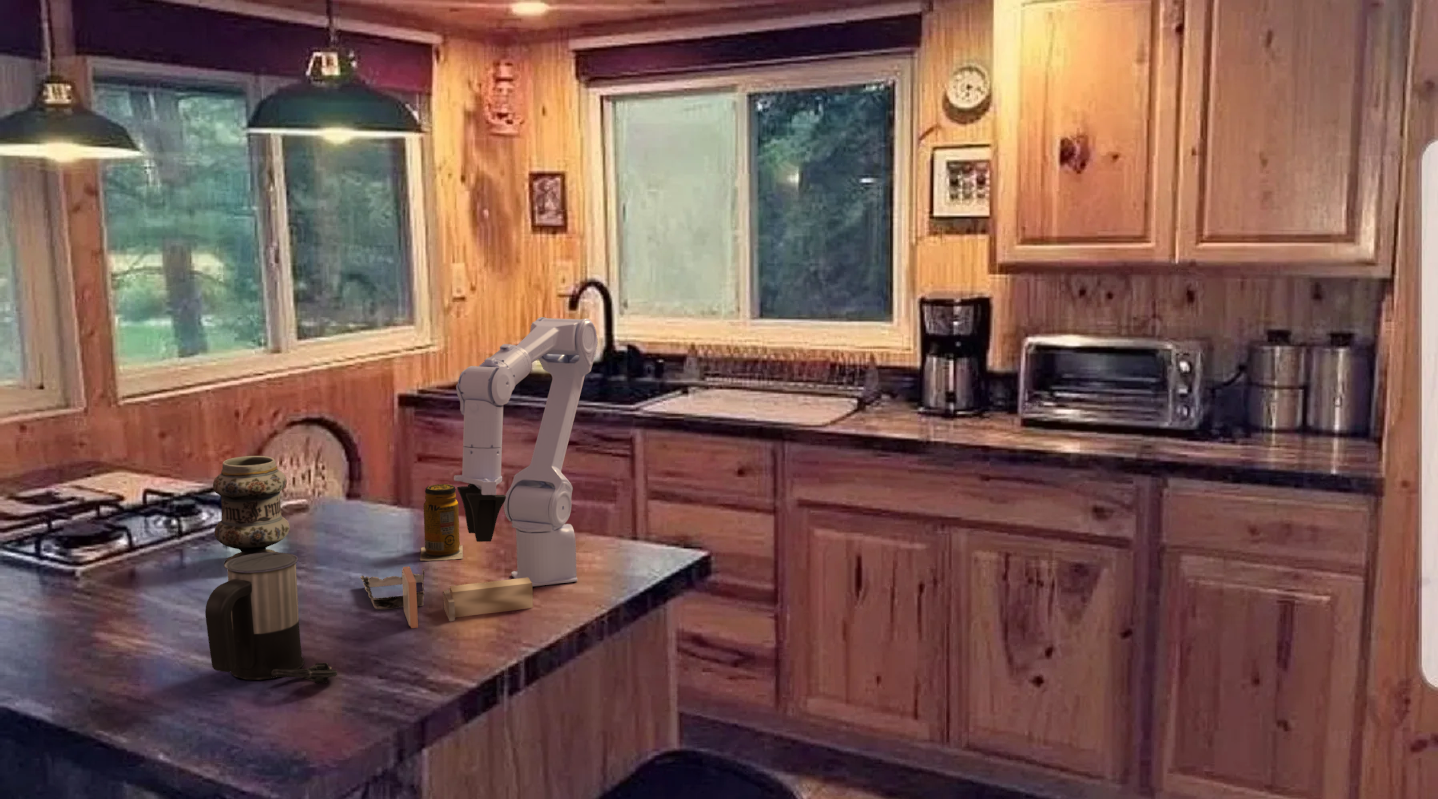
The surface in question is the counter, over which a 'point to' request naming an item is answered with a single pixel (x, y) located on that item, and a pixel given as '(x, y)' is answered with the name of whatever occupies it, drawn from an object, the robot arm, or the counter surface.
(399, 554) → the counter surface
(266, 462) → the apothecary jar
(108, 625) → the counter surface
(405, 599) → the tile
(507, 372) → the robot arm
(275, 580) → the milk frother
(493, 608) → the wooden block
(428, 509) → the condiment
